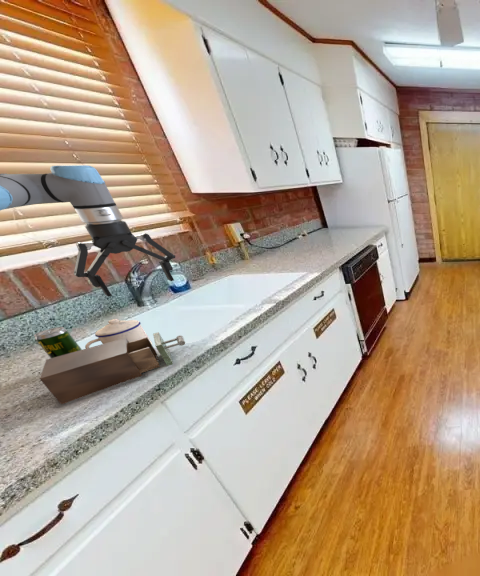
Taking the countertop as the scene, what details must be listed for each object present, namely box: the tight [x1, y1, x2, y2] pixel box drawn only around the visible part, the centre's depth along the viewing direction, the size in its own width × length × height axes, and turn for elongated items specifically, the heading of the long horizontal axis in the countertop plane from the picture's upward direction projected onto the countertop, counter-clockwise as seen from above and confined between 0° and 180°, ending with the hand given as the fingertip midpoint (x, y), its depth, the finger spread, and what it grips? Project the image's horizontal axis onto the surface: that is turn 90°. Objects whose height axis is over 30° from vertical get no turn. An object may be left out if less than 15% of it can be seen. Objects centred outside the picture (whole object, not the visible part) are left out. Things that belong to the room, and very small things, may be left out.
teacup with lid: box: [84, 318, 153, 349], centre depth 93 cm, size 12×9×12 cm
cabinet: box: [39, 338, 143, 405], centre depth 81 cm, size 14×12×9 cm
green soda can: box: [33, 326, 83, 359], centre depth 87 cm, size 5×5×12 cm
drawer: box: [128, 332, 186, 374], centre depth 87 cm, size 17×10×7 cm, turn 141°
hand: (141, 287), depth 95 cm, fingers open, 13 cm apart
